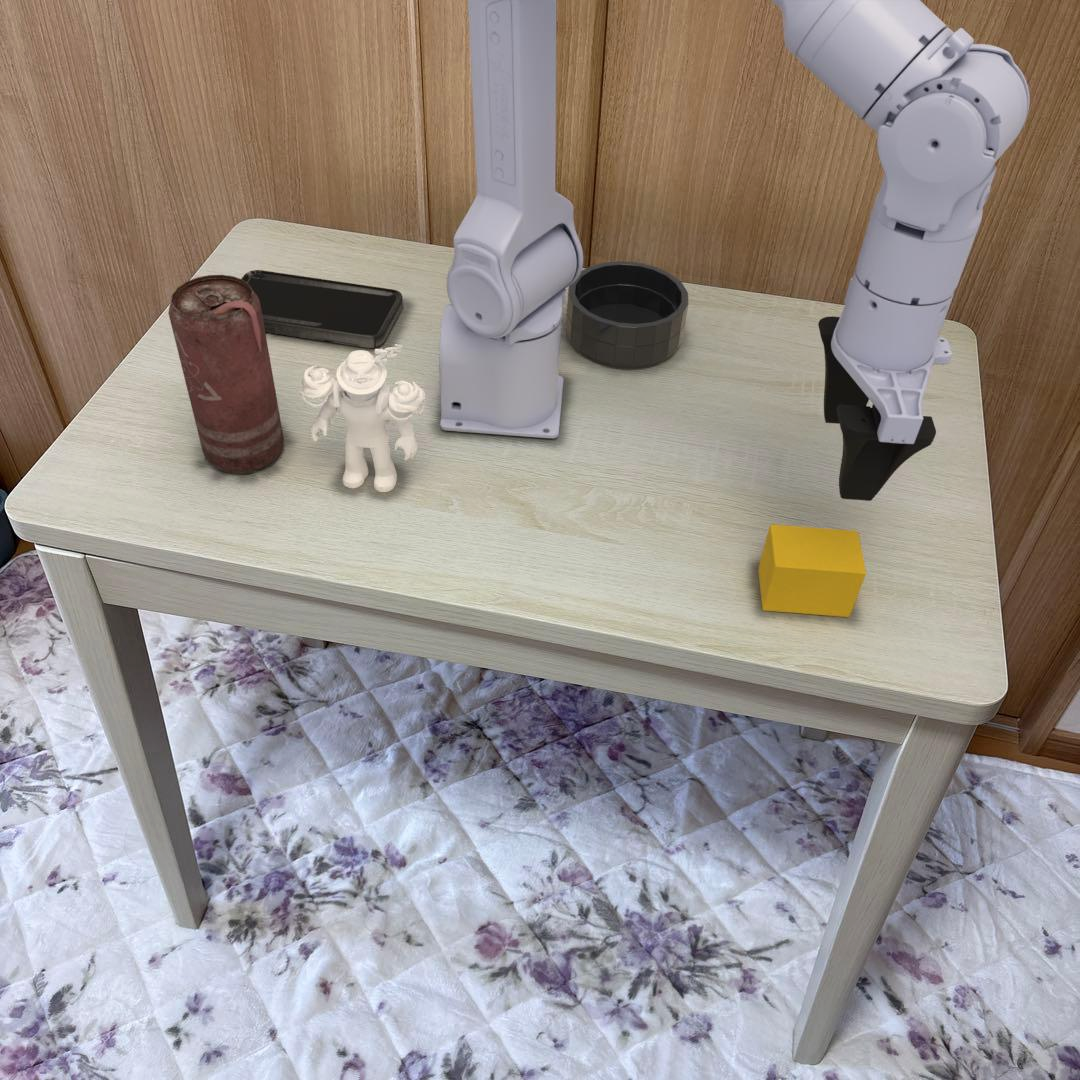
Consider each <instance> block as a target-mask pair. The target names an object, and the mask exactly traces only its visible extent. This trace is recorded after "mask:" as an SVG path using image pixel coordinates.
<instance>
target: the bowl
mask: <svg viewBox="0 0 1080 1080" xmlns="http://www.w3.org/2000/svg"><path fill="white" fill-rule="evenodd" d="M688 308H689V291H688V290H687V288H686V287H685V285H684V284H683V282H682V281H681V280H680V279H679V278H677V277H676V276H675V275H674V274H672V273H670V272H669V271H666V270H664V269H662V268H659V267H657V266H655V265H652V264H651V265H650V264H648V263H642V262H637V261H624V260H617V261H608V262H601V263H597V264H594V265H590V266H587V267H585V268H584V269H582V271H581V274H580V276H579V277H578V279H577V280H576V281H575V282H574V283H573V284H572V285H570V286H568V291H567V304H566V321H565V332H566V335H567V338H568V340H569V342H570V344H571V346H572V347H573V349H574V350H575V351H576V352H577V353H578V354H579V355H581V356H582V357H584V358H585V359H587V360H588V361H590V362H592V363H595V364H597V365H600V366H603V367H607V368H610V369H611V368H612V369H618V370H640V369H641V370H642V369H647V368H652V367H654V366H658V365H660V364H663V363H664V362H665V361H667V360H669V359H670V358H671V357H672V356H673V355H674V354H675V353H676V351H678V349H679V347H680V346H681V344H682V342H683V340H684V334H685V328H686V320H687V315H688Z"/></svg>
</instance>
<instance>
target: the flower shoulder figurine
mask: <svg viewBox="0 0 1080 1080" xmlns="http://www.w3.org/2000/svg"><path fill="white" fill-rule="evenodd" d="M403 347H404V345H403V344H397V343H395V344H394V346H391V347H385V348H384V349H383V347H381V348H374V354H375V355H376V356H374V355H373V354H372V353H371V352H370V351H368V350H364V349H359V350H353V351H351V352H350V353H349V354H347V358H346V359H345V360H343V361H342V362H341V363H340V364H339V366H338V367H337V368H336V370H335V376H336V378H335V377H332V375H331V374H330V371H329V369H328V368H325V367H319V365H313V366H309V367H307V368H305V370H304V371H303V374H302V379H301V385H302V391H301V392H300V396H301V397H302V400H303V401H304V402H305V403H306V404H307V406H309V407H310V408H312V409H314V410H319V412H318V414H317V416H316V418H315V419H314V422H313V425H312V427H311V428H310V436H311V439H312V440H313V441H314V442H315V443H316V442H317V441H319V440H320V438H321V437H322V435H323V436H324V437H327V435H328V432H329V427H330V425H331V418H333V417H334V415H336V413H338V414H340V415H341V417H343V419H344V421H345V425H346V430H345V436H344V438H345V440H344V441H345V442H344V463H345V464H344V466H345V469H344V472H343V476H342V484H343V486H344V487H345V488H348V489H357V488H359V487H361V486H362V485H363V484H364V483H365V479H367V477H368V476H369V472H370V471H369V467H368V464H367V461H366V459H365V457H364V451H365V449H366V448H367V449H369V450H370V454H371V457H372V462H373V466H374V471H375V473H374V475H375V476H374V479H373V488H374V490H376V491H377V492H379V493H387V492H390V491H393V489H394V488H395V487H396V486H397V480H398V474H397V469H396V467H395V463H394V461H393V460H392V457H391V448H390V441H391V439H390V435H389V433H388V431H387V427H386V424H388V423H390V422H393V423H394V424H395V425H396V428H397V430H398V433H399V435H400V436H399V437H398V438H397V439H396V441H395V444H394V448H393V449H394V451H398V449H399V448H402V450H403V452H404V458H403V460H404V462H406V461H409V460H411V461H412V460H413V459H414V458H415V457H416V455H417V454H418V451H419V448H420V447H419V444H418V442H417V439H416V434H415V430H414V424H413V421H412V419H411V418H412V417H413V414H414V412H415V413H416V414H417V415H418V417H422V416H423V415H424V411H425V399H426V394H425V390H424V389H423V388H422V387H420V386H419V385H418V384H417V383H416V382H415V381H413V380H412V383H411V382H408V381H406V380H399V381H395V383H394V385H395V386H394V388H393V390H391V387H390V385H388V384H387V383H386V380H387V375H388V373H387V372H388V371H387V367H386V366H385V364H388V359H389V358H397V357H398V353H402V351H403V350H402V348H403ZM400 349H401V350H400ZM395 352H396V353H395ZM316 367H319V368H316ZM315 368H316V369H315ZM306 397H307V398H309V399H313V400H318V399H324V400H323V401H322V402H321V403H316V404H315V403H312V402H310V401H308V400H307V399H306ZM421 406H422V409H421V410H420V411H418V409H419V408H420V407H421ZM409 414H410V415H409Z"/></svg>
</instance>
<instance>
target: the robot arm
mask: <svg viewBox="0 0 1080 1080" xmlns="http://www.w3.org/2000/svg"><path fill="white" fill-rule="evenodd" d="M770 1H771V3H773V4H774V5H775V6H776V7H778V8H779V9H780V13H781V19H782V33H783V34H782V35H783V43H784V47H785V48H786V49H787V50H788V51H789V52H790V53H791V54H792V55H793V56H794V57H795V58H796V59H797V60H798V61H799V62H800V63H801V64H802V65H803V66H804V67H805V68H806V69H807V70H809V71H810V73H811V74H813V75H814V76H815V77H816V78H817V79H818V80H819V81H820V82H821V83H822V84H823V85H824V86H825V87H826V88H827V89H828V90H830V92H832V93H833V94H834V95H835V96H836V97H837V98H838V99H839V100H840V101H841V102H842V103H843V104H844V105H845V106H847V107H848V108H849V110H851V111H852V113H854V114H855V116H857V117H858V118H859V119H860V120H861V121H862V122H863V123H864V124H865V125H866V126H867V127H869V129H871V130H872V131H873V132H875V133H877V139H876V143H877V144H876V146H877V147H876V148H877V155H878V160H879V163H880V165H881V167H882V170H883V171H884V173H883V177H882V180H881V184H880V187H879V190H878V192H877V194H876V196H875V198H874V200H873V201H874V203H873V204H872V208H871V212H870V216H869V218H868V219H869V220H868V223H867V226H866V230H865V233H864V237H863V240H862V244H861V248H860V251H859V254H858V258H857V261H856V265H855V268H854V272H853V275H852V277H850V279H849V283H848V286H847V290H846V294H845V296H844V300H843V304H844V307H843V309H842V311H841V314H840V316H824V317H822V318H821V319H819V321H818V323H817V326H818V331H819V335H820V340H821V342H822V345H823V351H824V367H825V368H824V391H823V416H824V422H825V424H835V425H838V424H839V428H840V430H841V431H840V432H841V433H842V454H841V462H840V468H839V475H838V490H839V491H838V492H839V497H840V499H842V500H853V501H864V502H865V501H867V502H870V501H873V499H874V498H875V497H876V496H877V495H878V494H879V492H880V491H881V489H882V488H883V487H884V486H885V484H886V483H887V482H888V481H889V479H890V478H891V477H892V475H894V474H895V472H896V471H897V470H898V469H899V468H900V467H901V466H902V465H903V464H904V463H905V462H906V461H907V460H909V459H910V458H911V457H913V456H914V455H916V454H917V453H918V452H920V451H922V450H924V449H926V448H928V447H930V446H931V445H932V443H933V442H934V440H935V437H936V434H937V429H936V426H935V423H934V419H933V417H932V416H929V415H924V413H923V410H922V406H923V405H922V404H923V398H924V395H925V393H926V390H927V389H926V388H927V384H928V381H929V377H930V375H931V372H932V368H933V366H936V365H942V366H945V365H948V364H950V361H951V359H952V357H953V351H952V347H951V345H950V342H949V341H948V339H946V338H945V337H942V336H940V334H941V331H942V328H943V326H944V323H945V320H946V317H947V315H948V312H949V309H950V307H951V304H952V300H953V299H954V296H955V294H956V291H957V288H958V285H959V282H960V280H961V277H962V274H963V271H964V269H965V266H966V263H967V260H968V258H969V255H970V252H971V250H972V248H973V245H974V242H975V238H976V236H977V233H978V231H979V227H980V226H981V223H982V219H983V213H984V212H983V208H984V205H985V204H986V203H987V200H988V199H989V197H990V194H991V189H992V184H993V181H994V178H995V175H996V172H997V170H998V168H997V165H996V164H995V163H996V162H998V160H999V159H1000V158H1001V157H1002V156H1003V154H1004V153H1005V152H1006V151H1007V150H1008V149H1009V147H1010V146H1012V144H1013V143H1014V141H1015V140H1016V139H1017V138H1018V136H1019V135H1020V133H1021V131H1022V129H1023V127H1024V125H1025V122H1026V120H1027V118H1028V115H1029V111H1030V104H1031V102H1030V100H1031V98H1030V89H1029V85H1028V82H1027V79H1026V77H1025V75H1024V73H1023V72H1022V70H1021V69H1020V68H1019V66H1018V65H1017V64H1016V63H1015V61H1014V59H1013V57H1012V56H1013V55H1012V54H1011V53H1010V52H1009V51H1008V50H1006V49H1004V48H1002V47H999V46H995V45H992V44H987V43H974V42H975V40H974V38H973V36H971V35H970V34H969V33H968V32H967V31H966V30H965V29H964V28H962V27H959V28H958V29H956V30H955V31H953V30H952V29H951V28H950V27H948V25H947V24H946V23H945V22H944V21H943V20H942V19H941V18H939V17H938V16H937V15H936V14H935V13H934V12H933V11H932V10H931V9H929V7H927V5H925V4H924V3H923V1H921V0H770ZM467 12H468V14H467V15H468V33H469V34H468V35H469V53H470V72H471V73H470V75H471V94H472V114H473V115H472V117H473V134H474V135H473V136H474V155H475V157H474V158H475V175H476V178H475V179H476V195H475V198H474V200H473V202H472V204H471V206H470V207H469V209H468V211H467V213H466V214H465V216H464V217H463V220H462V221H461V223H460V224H459V227H458V228H457V229H456V232H455V234H454V236H453V259H452V263H451V265H450V267H449V269H448V271H447V274H446V284H445V285H446V293H447V297H448V299H449V303H450V304H446V305H445V306H444V309H443V312H442V316H441V317H442V318H441V323H440V333H439V346H438V347H439V348H438V349H439V350H438V351H439V352H438V364H439V365H438V367H439V389H440V390H439V391H440V392H439V394H440V421H439V427H440V429H441V430H442V431H446V432H447V431H449V432H462V433H475V434H488V435H498V436H499V435H502V436H511V437H512V436H514V437H527V438H540V439H557V438H558V437H559V435H560V425H561V424H560V423H561V413H562V412H561V411H562V402H563V401H562V400H563V391H564V377H563V376H562V375H560V374H559V369H560V353H561V338H562V337H561V336H562V320H563V305H564V304H565V303H566V293H567V288H569V286H570V285H572V284H573V283H574V282H575V281H576V280H577V279H578V277H579V276H580V274H581V271H582V270H583V267H584V251H583V246H582V243H581V241H580V239H579V236H578V234H577V231H576V227H575V220H574V219H575V218H574V210H575V209H574V204H573V203H572V202H571V201H570V200H569V199H568V198H567V197H565V196H564V195H562V194H560V193H559V192H557V190H556V156H557V155H556V153H557V152H556V149H557V148H556V145H557V144H556V143H557V142H556V137H557V135H556V133H557V132H556V131H557V128H556V127H557V125H556V122H557V0H467ZM869 401H870V402H871V403H872V405H871V406H870V405H868V403H869Z"/></svg>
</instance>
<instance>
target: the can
mask: <svg viewBox="0 0 1080 1080" xmlns="http://www.w3.org/2000/svg"><path fill="white" fill-rule="evenodd" d="M170 298H171V299H170V303H169V308H168V312H167V314H168V317H169V321H170V325H171V328H172V334H173V338H174V340H175V345H176V349H177V354H178V358H179V361H180V366H181V370H182V374H183V379H184V381H185V386H186V390H187V395H188V397H189V402H190V406H191V411H192V414H193V418H194V422H195V426H196V430H197V433H198V434H197V435H198V439H199V442H200V447H201V450H202V454H203V456H204V459H205V460H206V461H207V462H208V463H209V464H210V465H211V466H212V467H214V468H215V469H217V470H219V471H221V472H224V473H227V474H232V475H248V474H252V473H255V472H256V473H257V472H259V471H262V470H264V469H266V468H267V467H270V466H271V465H272V464H273V463H274V462H275V461H276V460H277V459H278V457H279V455H280V454H281V452H282V451H283V449H284V441H285V438H284V433H283V426H282V421H281V414H280V408H279V404H278V397H277V391H276V386H275V385H276V384H275V380H274V373H273V369H272V364H271V363H272V362H271V359H270V358H271V357H270V352H269V346H268V341H267V340H268V339H267V334H266V333H267V332H265V328H264V322H263V316H262V310H261V305H260V301H259V299H258V297H257V295H256V294H255V292H254V291H253V290H252V289H251V287H250V285H249V284H248V283H246V282H245V281H244V280H242V278H240V277H237V276H233V275H227V274H207V275H203V276H198V277H195V278H192V279H190V280H189V279H188V280H187V281H185V282H183V283H182V284H181V285H179V286H178V287H176V289H175V290H174V291H173V293H172V294H171V297H170Z"/></svg>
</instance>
